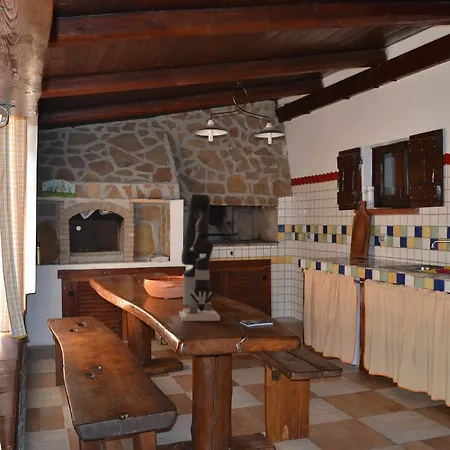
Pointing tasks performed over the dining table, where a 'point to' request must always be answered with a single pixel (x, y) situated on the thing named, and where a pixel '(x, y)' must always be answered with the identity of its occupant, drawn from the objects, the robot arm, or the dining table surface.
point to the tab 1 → (193, 309)
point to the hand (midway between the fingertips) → (201, 310)
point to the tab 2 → (208, 306)
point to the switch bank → (199, 315)
